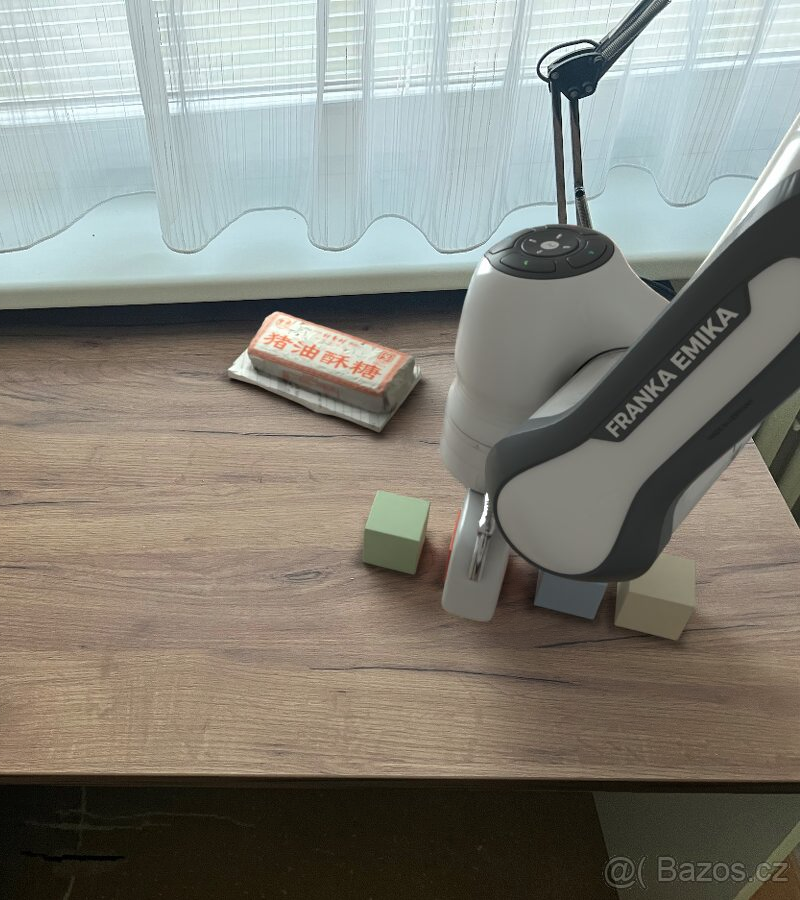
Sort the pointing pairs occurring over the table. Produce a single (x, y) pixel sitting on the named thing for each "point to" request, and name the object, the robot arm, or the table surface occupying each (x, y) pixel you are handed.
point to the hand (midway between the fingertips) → (477, 557)
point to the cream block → (658, 598)
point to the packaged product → (327, 370)
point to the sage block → (395, 532)
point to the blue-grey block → (568, 595)
